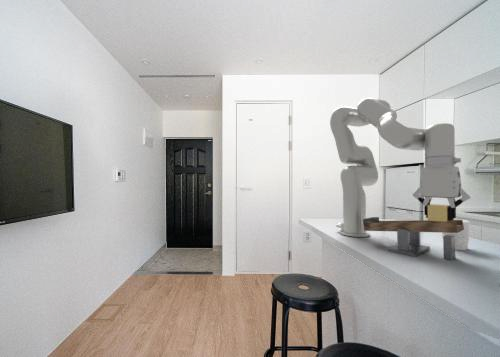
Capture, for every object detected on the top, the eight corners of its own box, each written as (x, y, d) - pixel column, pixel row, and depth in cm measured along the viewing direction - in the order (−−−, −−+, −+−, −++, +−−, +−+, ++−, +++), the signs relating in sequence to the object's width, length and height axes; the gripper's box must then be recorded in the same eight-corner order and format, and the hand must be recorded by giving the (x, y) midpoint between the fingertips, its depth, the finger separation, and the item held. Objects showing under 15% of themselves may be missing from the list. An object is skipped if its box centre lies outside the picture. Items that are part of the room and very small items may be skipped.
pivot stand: (388, 251, 81) (388, 227, 81) (404, 244, 90) (404, 223, 90) (415, 256, 75) (414, 231, 75) (429, 249, 83) (429, 226, 84)
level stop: (443, 258, 73) (443, 236, 73) (447, 256, 76) (446, 234, 76) (451, 260, 72) (451, 237, 72) (455, 257, 74) (454, 235, 74)
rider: (432, 218, 79) (432, 204, 79) (451, 220, 75) (451, 205, 75) (427, 220, 76) (427, 205, 76) (447, 222, 72) (447, 206, 72)
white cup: (446, 243, 91) (445, 218, 91) (473, 248, 84) (472, 220, 85) (438, 246, 87) (437, 219, 87) (466, 252, 80) (465, 222, 80)
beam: (364, 232, 91) (362, 219, 92) (374, 230, 96) (372, 217, 96) (458, 235, 69) (454, 217, 70) (464, 231, 74) (461, 215, 74)
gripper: (478, 161, 71) (478, 221, 71) (413, 164, 85) (413, 214, 85) (472, 160, 67) (473, 224, 67) (405, 163, 80) (405, 216, 80)
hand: (439, 218), depth 76 cm, fingers closed on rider, 5 cm apart
